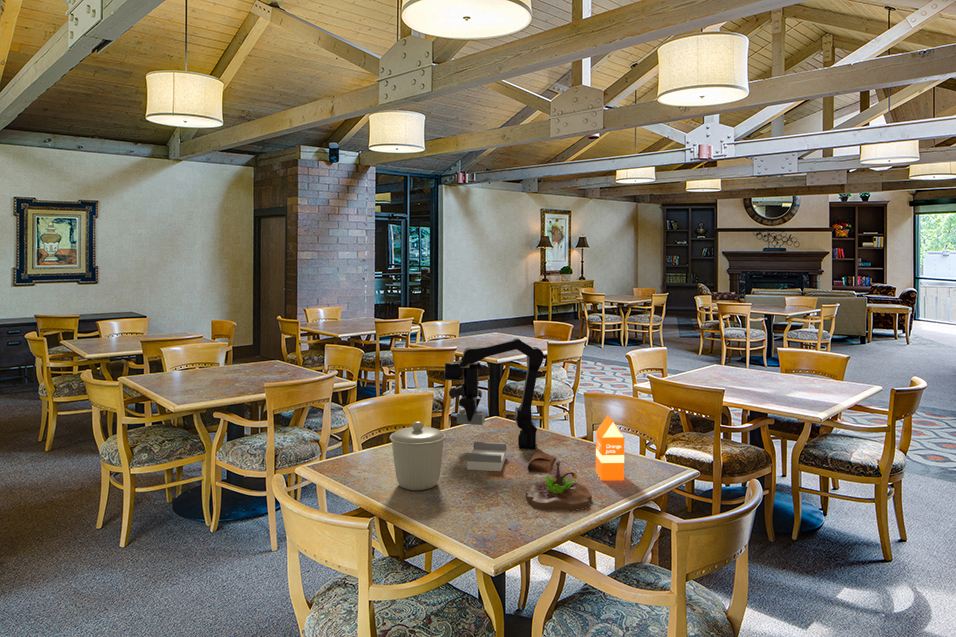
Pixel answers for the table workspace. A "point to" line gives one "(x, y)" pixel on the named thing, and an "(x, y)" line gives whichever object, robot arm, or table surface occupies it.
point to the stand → (487, 456)
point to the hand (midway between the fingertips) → (470, 419)
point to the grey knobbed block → (476, 419)
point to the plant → (559, 493)
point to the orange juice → (609, 451)
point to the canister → (417, 456)
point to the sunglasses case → (541, 462)
